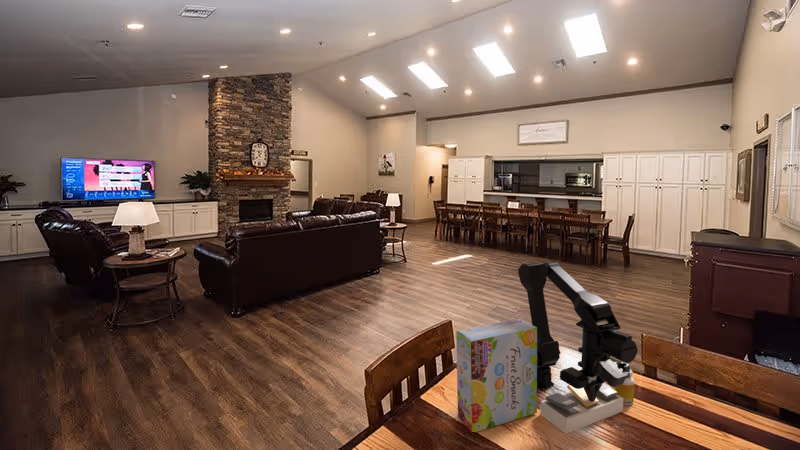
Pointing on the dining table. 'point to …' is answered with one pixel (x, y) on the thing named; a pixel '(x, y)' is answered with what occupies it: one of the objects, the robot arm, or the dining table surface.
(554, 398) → the block
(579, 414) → the rocker switch box
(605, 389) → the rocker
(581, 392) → the rocker middle
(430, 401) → the dining table surface
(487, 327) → the snack box
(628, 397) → the supplement bottle
